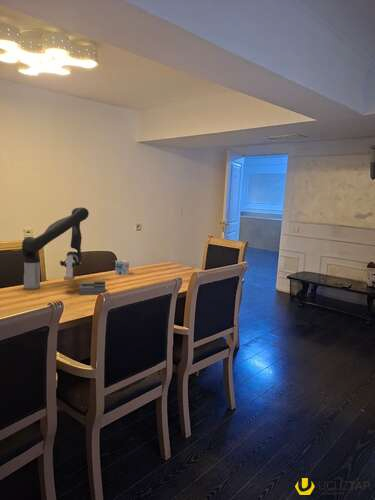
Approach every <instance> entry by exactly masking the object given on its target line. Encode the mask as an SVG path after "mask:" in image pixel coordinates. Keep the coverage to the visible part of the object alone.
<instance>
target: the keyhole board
mask: <svg viewBox="0 0 375 500" xmlns="http://www.w3.org/2000/svg"><path fill="white" fill-rule="evenodd" d="M104 292H105V293H106V281H105V280H102V281H101V280H100V281H99V280H98V281H97V280H95V281H93V282H80V283H79V286H78V295H79V296H80V295H101V294H100V293H104Z"/></svg>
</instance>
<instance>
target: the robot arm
mask: <svg viewBox="0 0 375 500" xmlns="http://www.w3.org/2000/svg"><path fill="white" fill-rule="evenodd" d="M89 213H90V212H89V210H88V209H87V208H85V207H75V208H73V209H72V210H71V214H70V215H69V216H66V217H63V218H60V219H59V220H56V221H55V222H53V223H52V224H50V225H49V226H48V227H47V228H46V230H45V231H44V232H43V233H41V234H40V235H38V236H37V237H32V236H29V237H25V238H24V239H23V240H22V243H21V244H22V245H21V252H22V259H23V264H24V265H23V267H24V271H23V272H24V273H23V289H26V290H27V289H28V290H36V289H39V288H41V271H40V268H41V267H40V264H41V263H40V261H41V260H40V257H39V255H38V253H37V252H39V251H41V250H42V249H43V248H44V247H45V246H46V245H48V244H49V243H50V242H52V241H54V240H55V239H57V238H58V237H60V236H62V235H63V234H64V233H66V232H67V231H68V230H70V229H71V239H70V248H71V249H74V250H76V251H68V252H67V253H66V256H73V263H72V267H73V268H75V267H79V266H81V265H82V259H83V257H82V249H81V248H82V247H81V246H82V237H83V236H82V233H81V222H83V221H85V220H87V218H88V217H89ZM59 265H60V266H61V267H65V268H66V259H65V260H64V261H63V260H60V261H59Z"/></svg>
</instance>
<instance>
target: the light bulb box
mask: <svg viewBox="0 0 375 500" xmlns="http://www.w3.org/2000/svg"><path fill="white" fill-rule="evenodd" d="M114 272H115V276H116V275H117V276H119V275H122V276H125V275H127V276H128V275H129V274H130V261H129V260H128V259H126V260H125V259H123V260H122V259H121V260H120V259H119V260H118V259H117V260H116V259H115V271H114Z"/></svg>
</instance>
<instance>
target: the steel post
mask: <svg viewBox="0 0 375 500" xmlns="http://www.w3.org/2000/svg"><path fill="white" fill-rule="evenodd" d="M65 260H66V267H65V275H64V277H63V281H75V279H76V276H75V275H74V273H73V272H74V269H73V268H74V267H72V263H73V256H67V255H66V258H65Z"/></svg>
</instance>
